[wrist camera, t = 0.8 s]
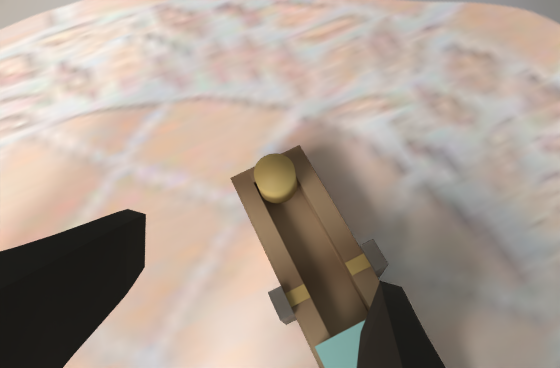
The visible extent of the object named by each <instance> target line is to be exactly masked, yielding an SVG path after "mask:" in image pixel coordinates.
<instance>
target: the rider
mask: <svg viewBox="0 0 560 368" xmlns="http://www.w3.org/2000/svg"><path fill="white" fill-rule="evenodd" d="M364 322H365V320H364V321H362V322H360V323H358V324H356V325H355V326H353V327H351V328H349V329H347V330H345V331H343V332H341V333H340V334H338V335H336V336H334V337H332V338H330V339H328V340H326V341H324V342H323V343H321V344H319V345H317V346H315V348H316V351H317V353H318V355H319V357H320V359H321V361H322V363H323V365H324V367H325V368H357V359H358V350H359V341H360V333H361V330H362V327H363V325H364Z"/></svg>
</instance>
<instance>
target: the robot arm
mask: <svg viewBox="0 0 560 368" xmlns="http://www.w3.org/2000/svg"><path fill="white" fill-rule="evenodd" d="M145 226H146V214H143V213H140V212H136V211H133V210H129V209H126V210H123V211H119V212H116V213H113V214H111V215H108V216H105V217H102V218H99V219H97V220H94V221H91V222H89V223H86V224H83V225H80V226H78V227H75V228H72V229H69V230H66V231H64V232H61V233H58V234H55V235H52V236H49V237H46V238H43V239H40V240H37V241H34V242H30V243H27V244H24V245H21V246H18V247H15V248H11V249H8V250H4V251H0V368H63V367H64V366H65V364H66V363H67V362H68V361H69V360H70V358H71V357H72V356H73V355H74V353H75V352H76V351H77V350H78V349H79V348H80V347H81V346H82V344H83V343H84V342H85V341H86V340H87V339H88V338H89V337H90V335H91V334H92V333H93V332H94V331H95V330H96V329H97V328H98V326H99V325H100V324H101V323H102V322H103V321H104V320H105V318H106V317H107V316H108V315H109V314H110V313H111V312H112V310H113V309H114V308H115V307H116V306H117V305H118V304H119V302H120V301H121V300H122V299H123V298H124V297H125V295H126V294H127V293H128V291H129V290H130V288H131V287H132V286H133V284H134V283H135V281H136V280H137V278H138V277H139V275H140V273H141V272H142V270H143V269H144V267H145ZM357 368H445V366H444V364H443V363H442V361H441V359H440V358H439V356H438V354H437V352H436V351H435V349H434V347H433V345H432V344H431V342H430V340H429V338H428V337H427V335H426V333H425V331H424V329H423V327H422V325H421V324H420V322H419V320H418V318H417V316H416V314H415V312H414V310H413V308H412V306H411V304H410V302H409V300H408V298H407V296H406V294H405V292H404V290H403V289H402V287H399V286H396V285H392V284H389V283H385V282H382V281H380V282H379V285H378V288H377V290H376V293H375V296H374V298H373V301H372V304H371V306H370V309H369V311H368V314H367V317H366V319H365V322H364V325H363V327H362V330H361V333H360V341H359V350H358V359H357Z"/></svg>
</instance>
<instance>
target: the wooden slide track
mask: <svg viewBox="0 0 560 368" xmlns="http://www.w3.org/2000/svg"><path fill="white" fill-rule="evenodd" d="M231 180H232V183H233V185H234V187H235V189H236V191H237V193H238V195H239V197H240V200H241V202H242V204H243V206H244V208H245V210H246V212H247V214H248V217H249V219H250V221H251V223H252V225H253V227H254V229H255V231H256V234H257V236H258V238H259V240H260V242H261V244H262V246H263V248H264V251H265V253H266V255H267V257H268V259H269V261H270V263H271V265H272V268H273V270H274V272H275V274H276V276H277V278H278V280H279V283H280V285H281V286H280V287H278V288H276V289H274V290H272V291H270V292H268V294H269V296H270V299H271V301H272V303H273V305H274V308H275V310H276V312H277V314H278V316H279V319H280V321H282V322H283V323H285V324H286V325H287V324H289V323H291V322H293V321H295V320H297V321H298V323H299V325H300V327H301V329H302V331H303V334H304V336H305V338H306V340H307V342H308V344H309V346H310V348H311V351H312V353H313V355H314V357H315V359H316V361H317V363H318V365H319V368H325V367H324V365H323V363H322V361H321V359H320V357H319V355H318V353H317V351H316V348H315V346H317V345H319V344H321V343H323V342H324V341H326V340H328V339H330V338H332V337H334V336H336V335H338V334H340V333H341V332H343V331H345V330H347V329H349V328H351V327H353V326H355V325H356V324H358V323H360V322H362V321H364V320H365V319H366V317H367V314H368V311H369V309H370V306H371V304H372V301H373V298H374V296H375V293H376V290H377V288H378V285H379V282H380V281H379V279H378V278H377V277H379V276H380V275H381V274H382V273H383V271H384V270H385V268H386V267H387V266H388V263H387V261H386V259H385V258H384V256H383V254H382V253H381V251H380V250H379V248H378V246H377V245H376V243H375V241H374V240H373V239H372V240H370V241H368V242H366V243H364V244H362V245H360V247H359V245H358V244H357V242H356V240H355V238H354V237H353V235H352V233H351V232H350V230H349V228H348V227H347V225H346V223H345V222H344V220H343V218H342V216H341V215H340V213H339V211H338V210H337V208H336V206H335V205H334V203H333V201H332V199H331V198H330V196H329V194H328V193H327V191H326V189H325V188H324V186H323V184H322V183H321V181H320V179H319V177H318V176H317V174H316V172H315V171H314V169H313V167H312V166H311V164H310V162H309V160H308V159H307V157H306V155H305V154H304V152H303V150H302V149H301V147H300V145H299V146H297V147H295V148H292V149H290V150H288V151H286V152H284V153H282V154H269V155H267V156H264V157H263V158H261V159H260V160H259V161H258V163H257V164H256V166H255V167H253V168H251V169H248V170H246V171H244V172H242V173H240V174H238V175H236V176H234V177H232V178H231Z"/></svg>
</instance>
